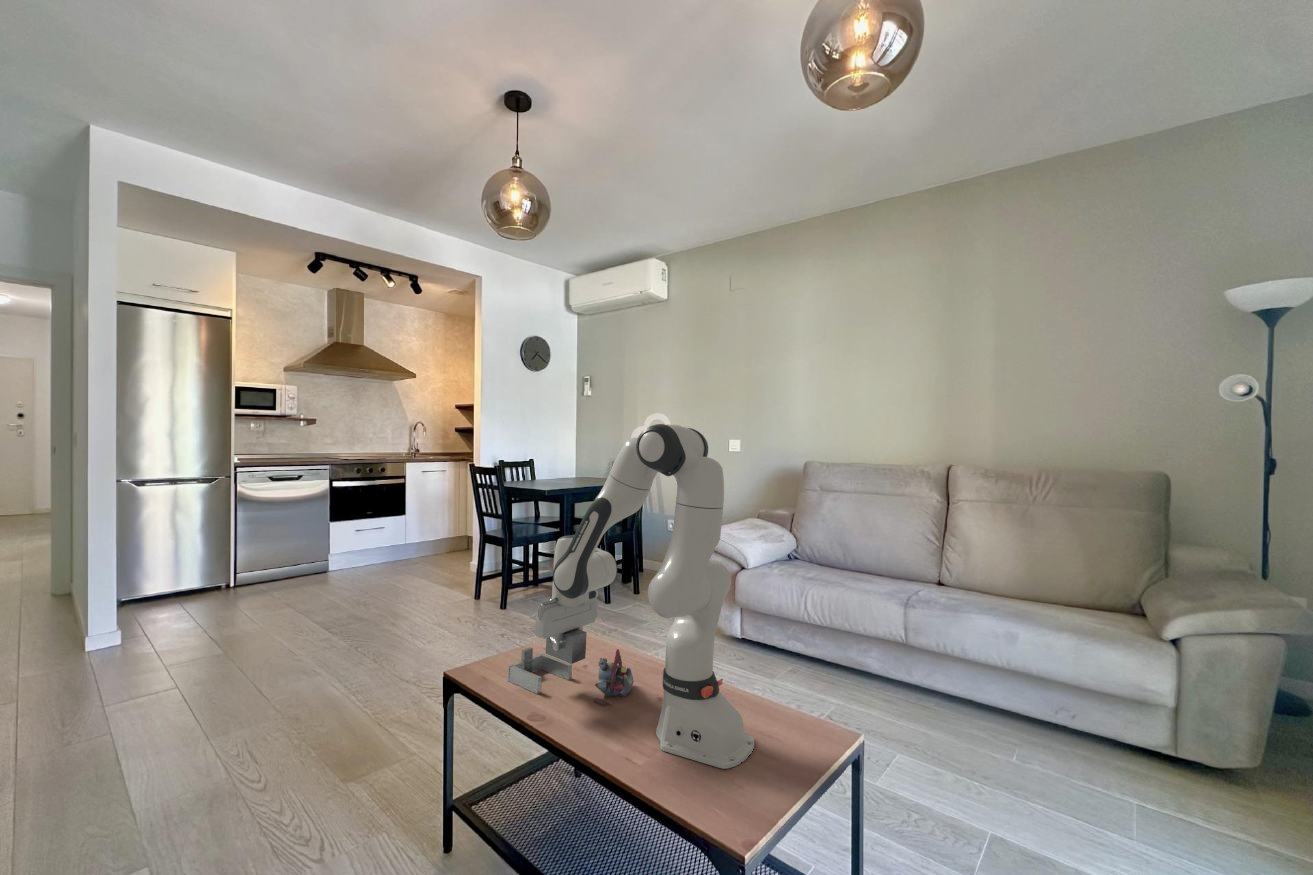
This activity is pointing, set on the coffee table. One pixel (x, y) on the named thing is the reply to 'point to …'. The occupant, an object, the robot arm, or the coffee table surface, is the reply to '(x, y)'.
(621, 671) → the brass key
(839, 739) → the coffee table surface
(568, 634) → the block
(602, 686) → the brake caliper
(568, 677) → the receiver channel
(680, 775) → the coffee table surface
